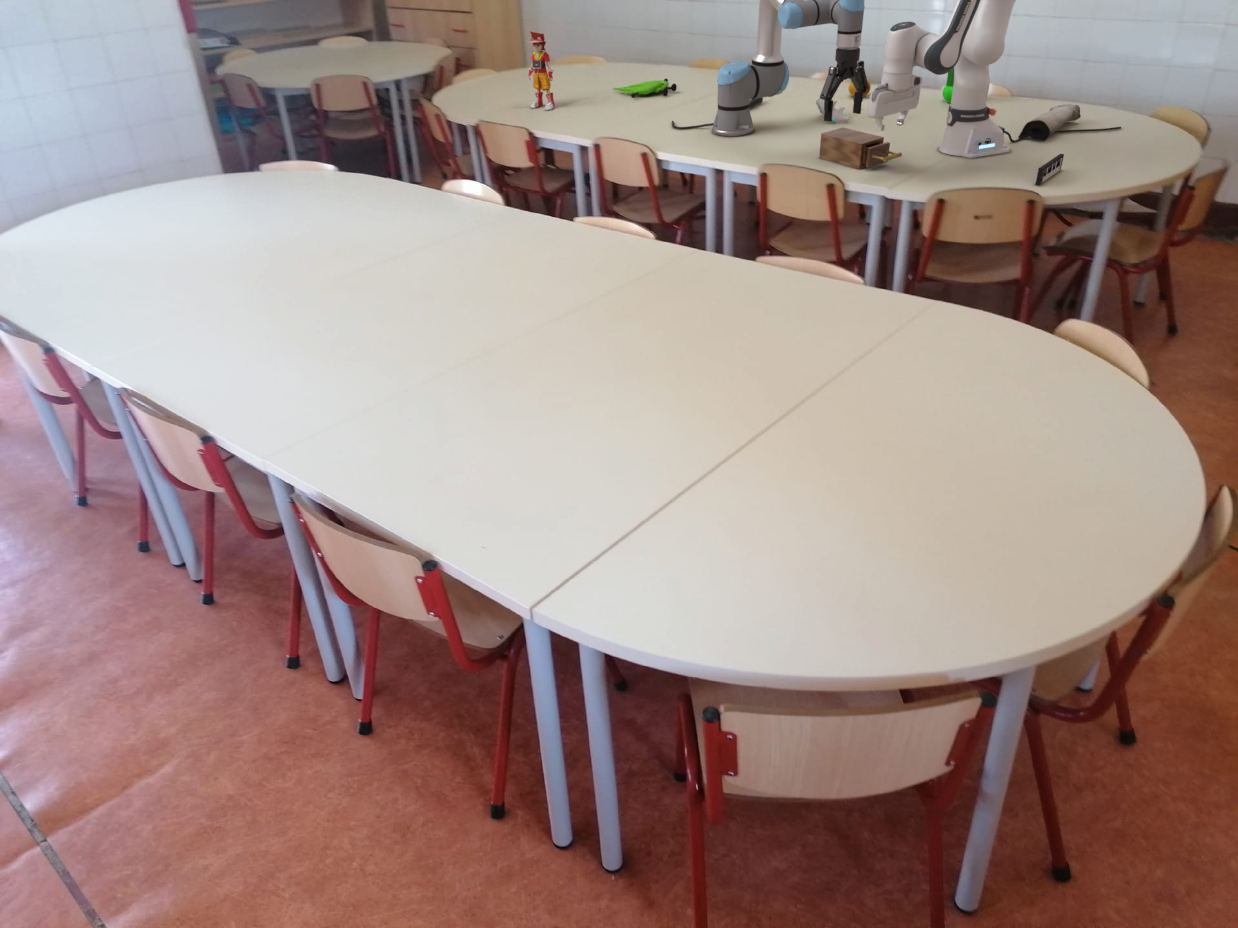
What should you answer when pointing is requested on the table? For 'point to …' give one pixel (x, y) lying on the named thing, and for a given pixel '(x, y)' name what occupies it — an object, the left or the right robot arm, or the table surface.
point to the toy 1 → (541, 71)
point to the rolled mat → (1050, 122)
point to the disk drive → (754, 102)
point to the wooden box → (846, 146)
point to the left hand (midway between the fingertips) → (842, 117)
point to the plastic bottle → (949, 86)
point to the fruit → (853, 90)
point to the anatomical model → (835, 113)
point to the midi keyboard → (1049, 169)
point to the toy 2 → (648, 88)
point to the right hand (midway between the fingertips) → (890, 128)
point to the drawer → (877, 154)
